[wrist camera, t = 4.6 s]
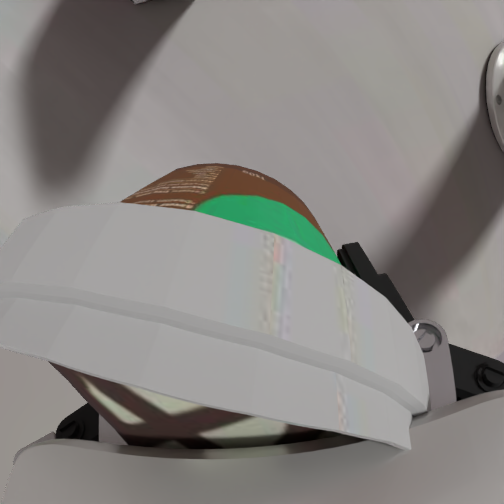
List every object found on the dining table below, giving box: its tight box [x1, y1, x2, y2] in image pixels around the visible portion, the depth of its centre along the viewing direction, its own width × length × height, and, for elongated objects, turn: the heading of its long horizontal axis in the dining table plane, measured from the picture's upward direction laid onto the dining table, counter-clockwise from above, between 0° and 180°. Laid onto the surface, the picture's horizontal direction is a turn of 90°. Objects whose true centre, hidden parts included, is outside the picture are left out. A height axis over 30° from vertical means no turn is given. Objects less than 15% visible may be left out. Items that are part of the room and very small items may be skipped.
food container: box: [0, 163, 431, 450], centre depth 9 cm, size 12×6×10 cm, turn 14°
